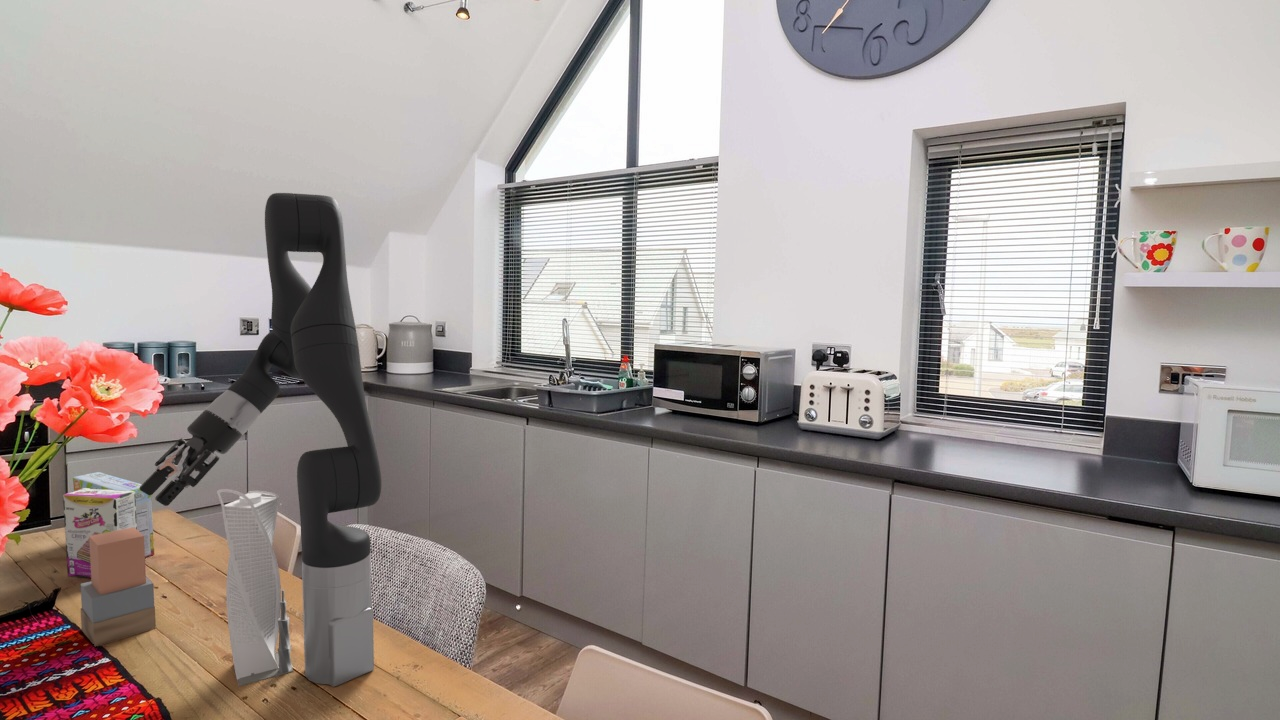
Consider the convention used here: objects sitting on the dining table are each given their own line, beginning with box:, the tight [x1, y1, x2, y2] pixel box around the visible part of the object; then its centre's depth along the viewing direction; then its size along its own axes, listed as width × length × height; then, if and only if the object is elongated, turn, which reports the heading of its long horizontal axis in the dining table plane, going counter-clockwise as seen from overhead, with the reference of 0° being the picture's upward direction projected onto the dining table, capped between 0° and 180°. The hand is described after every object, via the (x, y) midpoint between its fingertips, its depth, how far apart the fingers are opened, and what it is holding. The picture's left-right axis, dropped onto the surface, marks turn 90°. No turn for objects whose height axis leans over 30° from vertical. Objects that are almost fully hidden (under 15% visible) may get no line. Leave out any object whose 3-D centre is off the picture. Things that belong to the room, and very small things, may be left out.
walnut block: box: [80, 605, 157, 647], centre depth 112 cm, size 8×8×4 cm
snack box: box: [72, 471, 155, 558], centre depth 145 cm, size 21×6×15 cm, turn 62°
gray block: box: [80, 575, 155, 623], centre depth 112 cm, size 8×8×4 cm
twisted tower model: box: [216, 488, 294, 687], centre depth 100 cm, size 8×8×28 cm
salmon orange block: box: [89, 527, 147, 595], centre depth 111 cm, size 6×6×8 cm
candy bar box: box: [62, 488, 137, 579], centre depth 132 cm, size 11×5×16 cm, turn 84°
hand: (152, 497), depth 114 cm, fingers open, 8 cm apart
